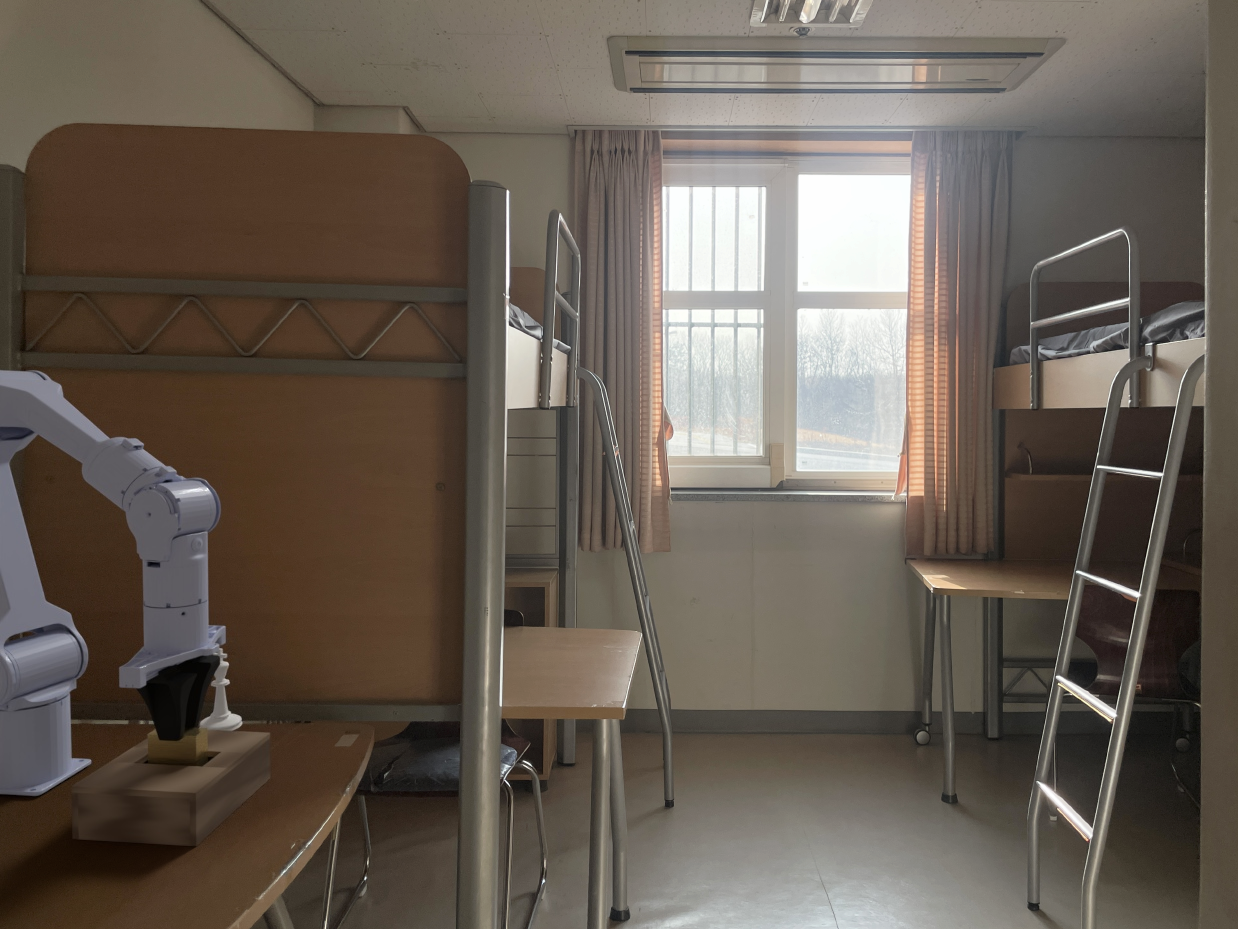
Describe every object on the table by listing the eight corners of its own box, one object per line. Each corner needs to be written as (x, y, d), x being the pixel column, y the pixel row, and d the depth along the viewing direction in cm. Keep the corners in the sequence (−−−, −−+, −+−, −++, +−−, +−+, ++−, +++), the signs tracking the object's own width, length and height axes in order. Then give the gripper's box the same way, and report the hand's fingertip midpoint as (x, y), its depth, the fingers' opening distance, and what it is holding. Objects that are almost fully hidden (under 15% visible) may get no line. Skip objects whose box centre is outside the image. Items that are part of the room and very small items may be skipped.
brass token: (148, 782, 82) (147, 734, 82) (161, 773, 84) (159, 726, 84) (197, 784, 82) (195, 736, 81) (208, 775, 84) (207, 728, 83)
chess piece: (224, 736, 100) (224, 656, 100) (189, 732, 101) (188, 653, 101) (250, 721, 105) (250, 645, 104) (216, 717, 106) (216, 641, 105)
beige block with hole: (72, 839, 76) (71, 786, 76) (165, 772, 90) (164, 727, 90) (196, 846, 76) (195, 793, 75) (270, 778, 90) (270, 732, 89)
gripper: (170, 622, 74) (172, 767, 75) (252, 587, 88) (253, 709, 89) (95, 618, 74) (99, 763, 75) (189, 584, 89) (191, 706, 90)
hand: (178, 734), depth 82 cm, fingers closed on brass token, 2 cm apart
